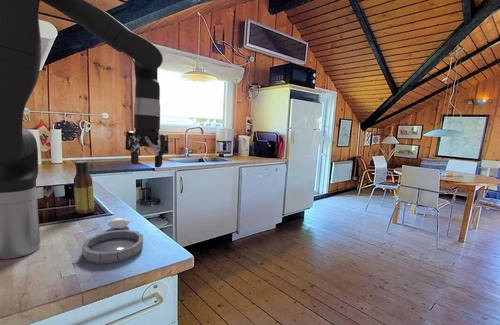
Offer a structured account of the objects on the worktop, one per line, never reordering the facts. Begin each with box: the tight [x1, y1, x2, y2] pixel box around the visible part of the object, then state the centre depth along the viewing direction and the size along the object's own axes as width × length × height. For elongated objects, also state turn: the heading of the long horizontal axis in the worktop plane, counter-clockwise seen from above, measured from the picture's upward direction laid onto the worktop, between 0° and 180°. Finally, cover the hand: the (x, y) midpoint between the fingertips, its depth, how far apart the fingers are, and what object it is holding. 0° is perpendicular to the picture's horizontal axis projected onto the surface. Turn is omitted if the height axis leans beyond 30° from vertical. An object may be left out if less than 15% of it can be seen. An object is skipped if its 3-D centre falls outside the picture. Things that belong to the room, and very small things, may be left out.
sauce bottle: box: [73, 160, 96, 215], centre depth 99 cm, size 7×6×20 cm
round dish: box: [81, 229, 144, 265], centre depth 72 cm, size 15×15×3 cm
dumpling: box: [107, 217, 131, 230], centre depth 87 cm, size 7×5×4 cm
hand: (146, 165), depth 82 cm, fingers open, 8 cm apart
